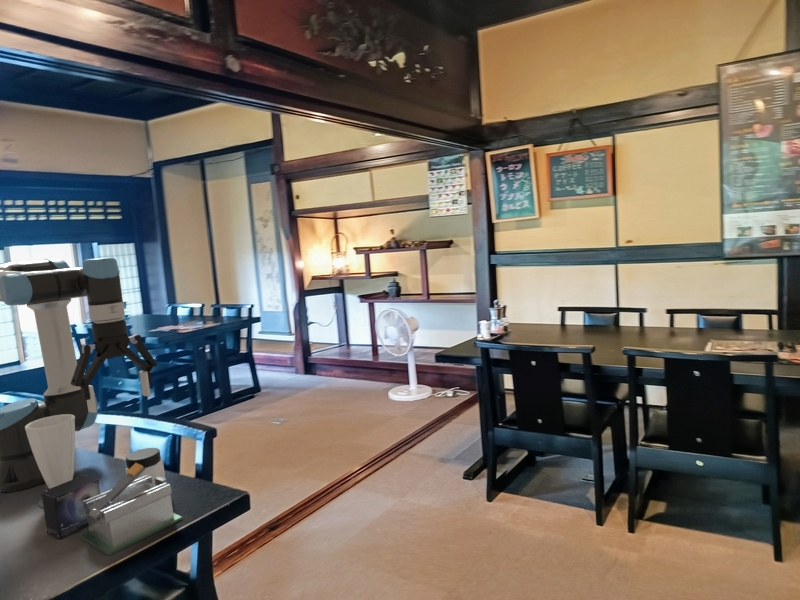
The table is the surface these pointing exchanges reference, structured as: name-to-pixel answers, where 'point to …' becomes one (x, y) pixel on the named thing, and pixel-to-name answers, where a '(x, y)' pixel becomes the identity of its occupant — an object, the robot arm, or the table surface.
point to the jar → (147, 463)
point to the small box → (68, 505)
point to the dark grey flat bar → (115, 491)
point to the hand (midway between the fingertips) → (120, 403)
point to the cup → (53, 448)
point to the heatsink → (131, 515)
